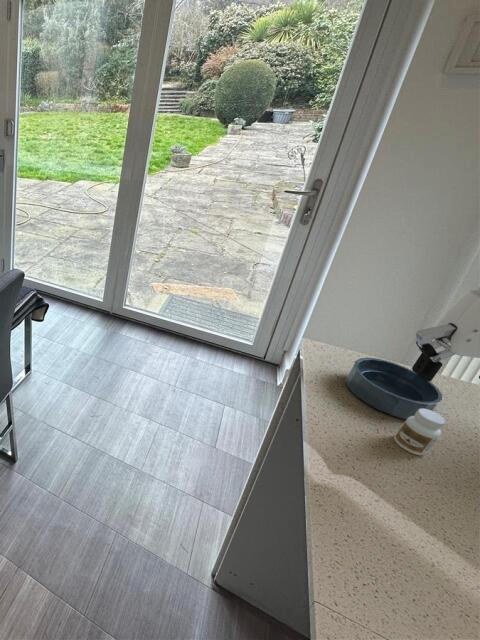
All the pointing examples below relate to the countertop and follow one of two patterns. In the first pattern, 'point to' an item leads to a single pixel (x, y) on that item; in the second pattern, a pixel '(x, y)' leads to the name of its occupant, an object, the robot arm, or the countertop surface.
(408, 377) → the bowl
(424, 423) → the pill bottle
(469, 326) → the robot arm
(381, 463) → the countertop surface
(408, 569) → the countertop surface
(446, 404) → the countertop surface
